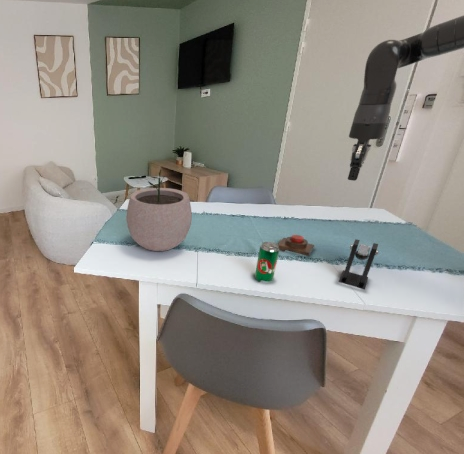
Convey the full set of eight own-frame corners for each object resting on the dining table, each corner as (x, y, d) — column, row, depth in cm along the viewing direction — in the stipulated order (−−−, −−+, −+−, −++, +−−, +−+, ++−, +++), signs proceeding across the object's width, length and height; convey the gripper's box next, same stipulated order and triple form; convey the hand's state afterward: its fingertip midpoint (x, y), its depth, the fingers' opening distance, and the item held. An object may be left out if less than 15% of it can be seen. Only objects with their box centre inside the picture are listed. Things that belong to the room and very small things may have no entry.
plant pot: (125, 234, 125) (124, 164, 113) (182, 233, 124) (186, 162, 112) (127, 262, 103) (126, 179, 91) (196, 261, 102) (204, 177, 90)
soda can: (265, 274, 93) (272, 240, 88) (276, 282, 88) (284, 247, 83) (250, 276, 92) (256, 242, 87) (261, 285, 87) (268, 249, 83)
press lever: (353, 258, 93) (356, 249, 93) (366, 261, 91) (370, 252, 91) (354, 252, 82) (358, 242, 82) (369, 256, 80) (373, 245, 80)
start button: (303, 240, 105) (304, 236, 104) (301, 244, 102) (302, 239, 102) (292, 238, 107) (293, 233, 106) (289, 241, 105) (290, 237, 104)
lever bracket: (342, 273, 91) (354, 236, 86) (367, 280, 87) (381, 242, 82) (337, 284, 86) (350, 246, 81) (363, 292, 82) (378, 252, 77)
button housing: (313, 250, 105) (315, 240, 104) (307, 258, 100) (310, 248, 99) (282, 242, 112) (284, 233, 110) (275, 249, 107) (278, 240, 105)
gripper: (356, 119, 91) (340, 174, 97) (349, 122, 82) (333, 182, 89) (388, 119, 86) (370, 177, 93) (385, 123, 77) (365, 186, 84)
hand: (352, 179), depth 91 cm, fingers closed
